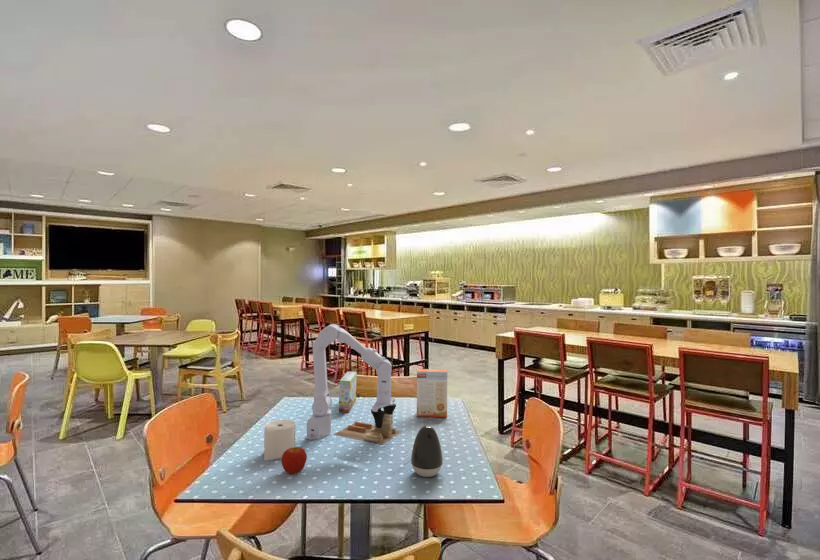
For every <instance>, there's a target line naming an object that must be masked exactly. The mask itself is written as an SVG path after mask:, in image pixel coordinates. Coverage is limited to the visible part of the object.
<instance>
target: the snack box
mask: <svg viewBox="0 0 820 560" xmlns="http://www.w3.org/2000/svg"><path fill="white" fill-rule="evenodd" d="M357 373H358V372H357V371H346V372H345V374H344V375H343V376H342V378H340V380H339V387H338V388H339V391H338V395H339V396H338V413H345V412H346V414H347V413H350V411H351V409H352V408H353V406H354V404H355V403H356V401H357V377H358V374H357ZM355 400H356V401H355ZM354 402H355V403H354Z"/></svg>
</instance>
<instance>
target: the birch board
mask: <svg viewBox="0 0 820 560" xmlns="http://www.w3.org/2000/svg"><path fill="white" fill-rule="evenodd" d="M393 419H394V418H393V414H392V415H391V414H384V417H383V424H382V428H376V424H375V423H374V426H375V430H379V431H384V432H389V433H390V435H391V434H392V428H393V423H394V422H393Z"/></svg>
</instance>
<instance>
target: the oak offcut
mask: <svg viewBox="0 0 820 560" xmlns="http://www.w3.org/2000/svg"><path fill="white" fill-rule="evenodd" d="M381 436H382V434H380V433H375V432H369V433H367V434H365V437H367V438H372V439H378V438H380V437H381Z"/></svg>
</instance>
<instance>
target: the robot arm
mask: <svg viewBox="0 0 820 560" xmlns="http://www.w3.org/2000/svg"><path fill="white" fill-rule="evenodd" d="M335 341H336V342H337V343H344V344H346V345H347V346H349V347H350V348H352V349H353V350H354V351H356V353H358V354H359V355H360V356H361V360H362V361H363V362H365V363H366V364H367V365H368V366H369V367H371V368H372V369H374V370H376V373H377V379H376V402H375V403H374V404H373V405H372V406H371V409H370V413H371V415H372V416H373V419H374V425H375V424H376V428H382V424H383V417H384V414H391V415H393V413H394V412H395V409H396V407H397V404H396V403H395V401H396V400H395V399H396V398H395V397H393V396H392V371H393V370H392V362H391V361H390V360H389V359H387V358H386V357H385V356H382V355H381V354H379V353H378V352H377V349H376V348H372V347H366V346H365V345H363V344H362V343H361V342H360V341H359V340H358V339H356V337H354V336H352V334H350V333H349V332H348V331H347V330H346V329H344V328H343V327H340V325H338V324H335V323H331V324H328V325H327V326H325V327H324V328H323V329H322V330H320V331H319V333H318V334H317V337H316V338H315V340H314V341H313V343H312V359H313V360H312V361H313V375H314V376H313V379H314V394H313V403H312V405H311V410H312V415H311V417H309V419H307V422H306V436H305V437H304V438H305V439H306V440H310V441H313V440H315V439H317V440H320V439H321V438H324V437H327V436H329V435H330V434H332V411H331V409H330V407H331V405H332V403H333V400H332V397H331V396H330V389H329V388H328V386H329V385H328V373H327V372H328V371H327V369H328V368H327V355H326V354H327V353H326V348H327V347H328V346H329V345H330V344H332V343H333V342H335ZM382 409H383V410H382Z"/></svg>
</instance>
